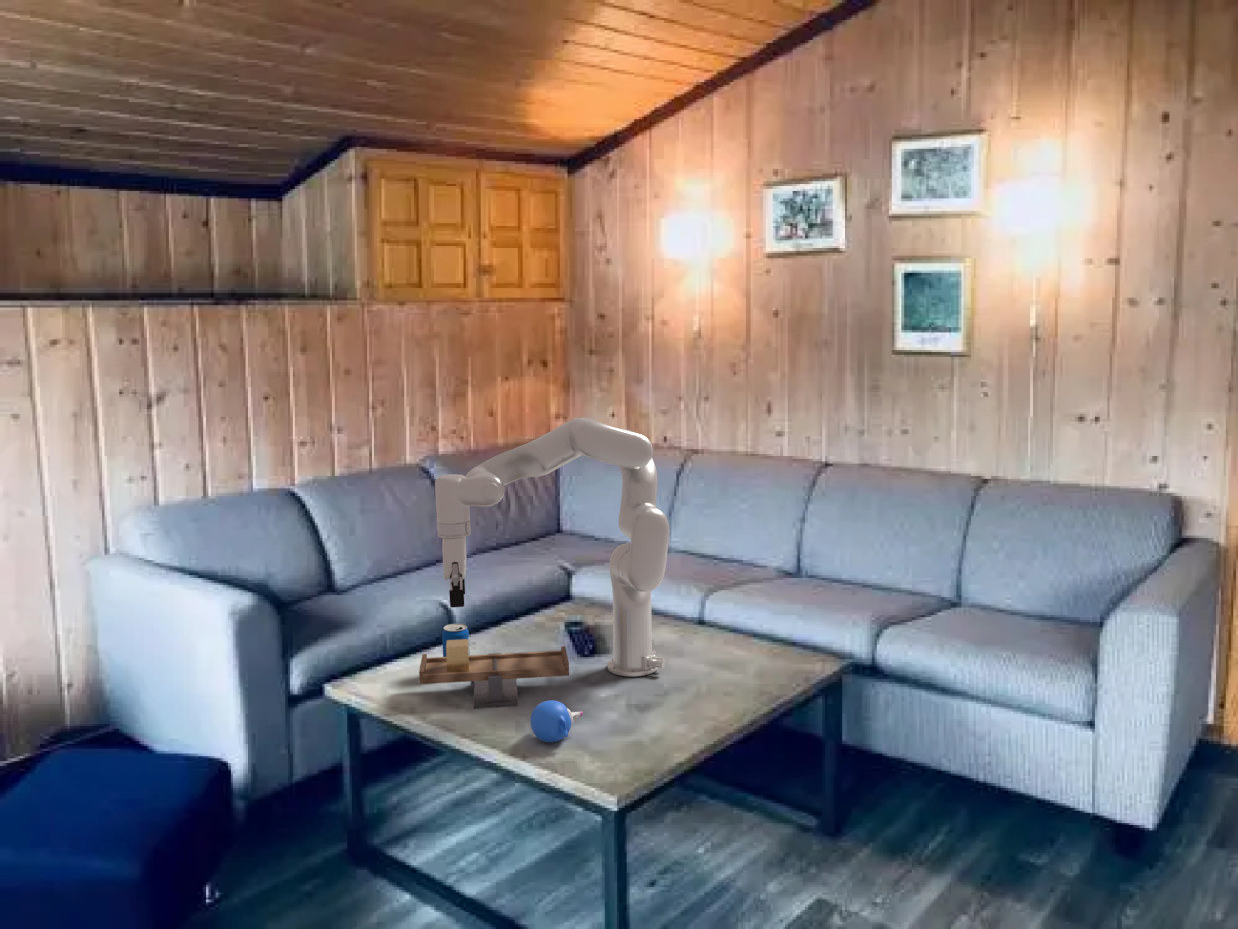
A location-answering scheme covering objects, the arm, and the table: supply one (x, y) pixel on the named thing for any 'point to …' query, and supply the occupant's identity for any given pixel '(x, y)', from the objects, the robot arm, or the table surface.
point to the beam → (497, 667)
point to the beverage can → (454, 634)
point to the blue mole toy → (552, 721)
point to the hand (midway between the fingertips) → (457, 600)
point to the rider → (457, 655)
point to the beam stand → (495, 692)
